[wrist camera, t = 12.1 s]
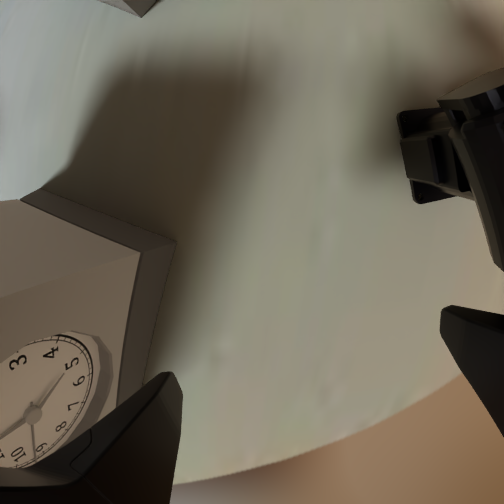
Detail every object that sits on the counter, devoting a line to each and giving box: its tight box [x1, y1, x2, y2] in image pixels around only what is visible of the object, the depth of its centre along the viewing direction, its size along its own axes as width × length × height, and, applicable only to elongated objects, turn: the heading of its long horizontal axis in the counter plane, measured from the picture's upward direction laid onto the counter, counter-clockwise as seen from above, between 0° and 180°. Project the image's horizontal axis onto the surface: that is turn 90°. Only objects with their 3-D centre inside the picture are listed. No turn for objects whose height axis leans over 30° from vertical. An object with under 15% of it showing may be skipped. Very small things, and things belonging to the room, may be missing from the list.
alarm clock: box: [0, 188, 177, 468], centre depth 14 cm, size 20×16×20 cm
